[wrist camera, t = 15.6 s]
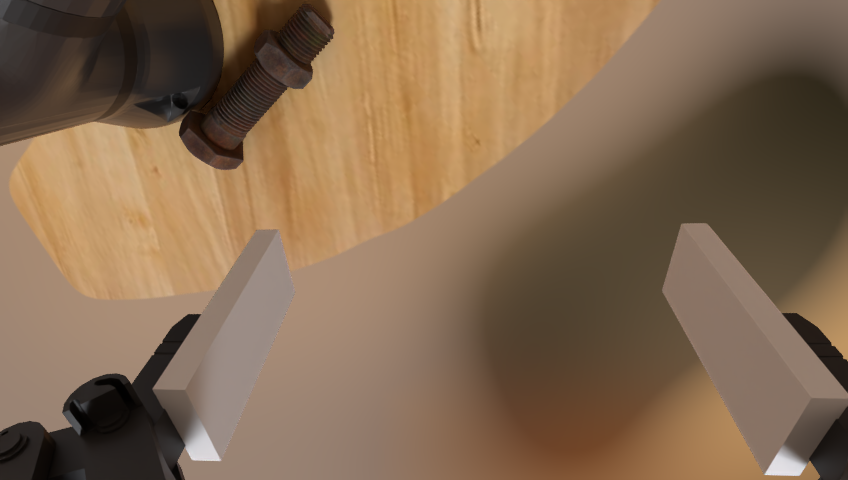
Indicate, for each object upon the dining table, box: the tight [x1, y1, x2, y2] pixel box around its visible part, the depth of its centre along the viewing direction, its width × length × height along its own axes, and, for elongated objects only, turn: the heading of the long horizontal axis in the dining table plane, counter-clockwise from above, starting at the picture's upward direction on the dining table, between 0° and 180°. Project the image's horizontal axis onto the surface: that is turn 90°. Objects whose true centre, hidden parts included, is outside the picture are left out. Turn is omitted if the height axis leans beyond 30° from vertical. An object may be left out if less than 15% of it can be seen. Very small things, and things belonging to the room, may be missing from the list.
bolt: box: [179, 4, 334, 170], centre depth 39 cm, size 6×5×15 cm
